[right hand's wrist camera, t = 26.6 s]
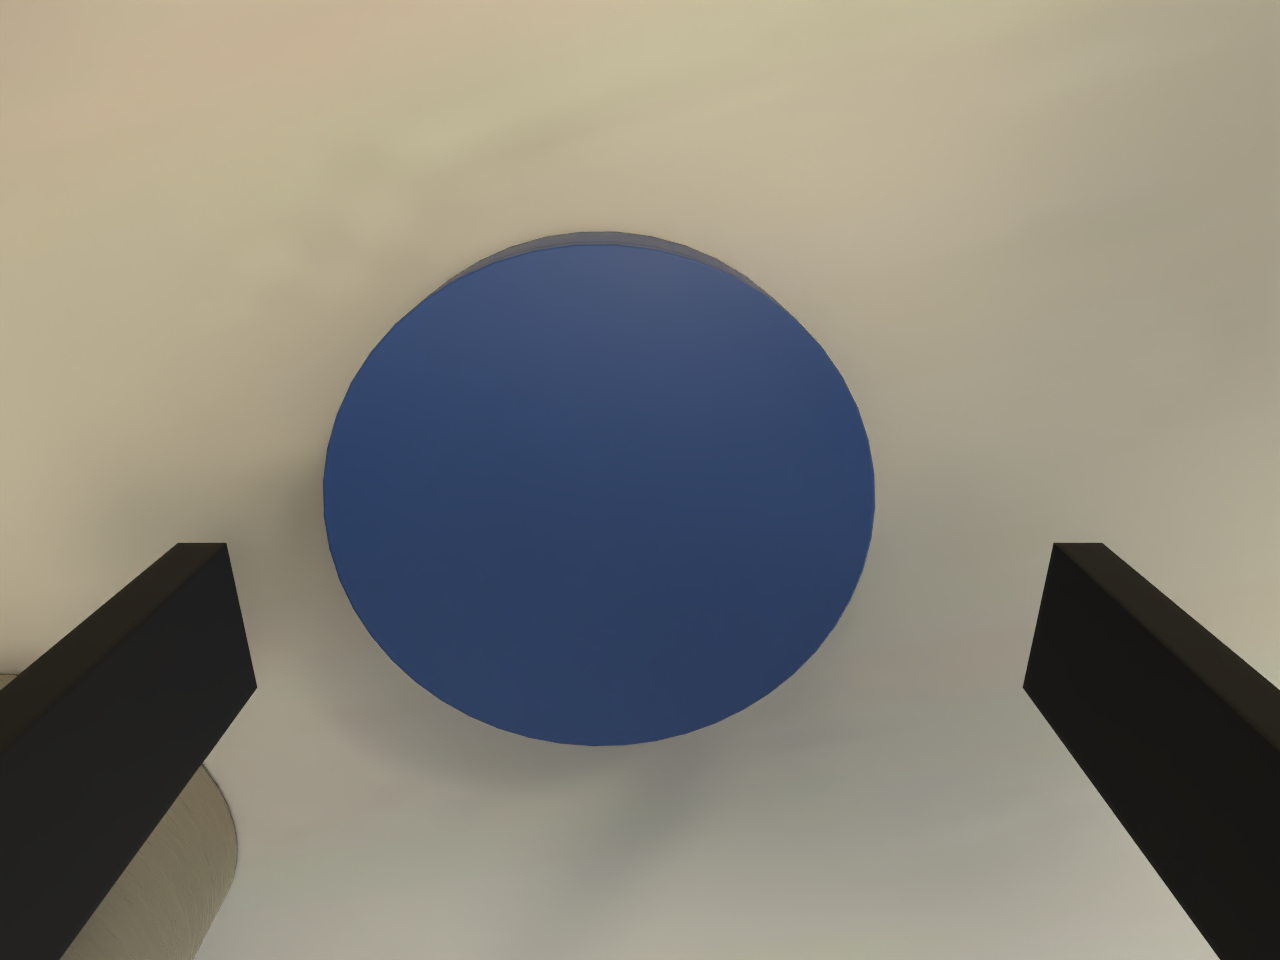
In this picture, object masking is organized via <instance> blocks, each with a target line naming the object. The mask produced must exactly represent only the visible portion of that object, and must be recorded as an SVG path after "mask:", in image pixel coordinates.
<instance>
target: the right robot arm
mask: <svg viewBox="0 0 1280 960" xmlns="http://www.w3.org/2000/svg"><path fill="white" fill-rule="evenodd" d="M256 689H257V684H256V680H255V675H254V670H253V665H252V661H251V656H250V651H249V647H248V642H247V637H246V633H245V628H244V623H243V619H242V614H241V609H240V605H239V600H238V595H237V591H236V586H235V581H234V577H233V572H232V567H231V563H230V558H229V553H228V549H227V544H226V543H177V544H176V545H175V546H174V547H172V548H171V549H170V550H169V551H168V552H166V553H165V554H164V555H163V556H162V557H160V558H159V559H158V560H157V561H156V562H154V563H153V564H152V565H151V566H150V567H148V568H147V569H146V570H145V571H144V572H142V573H141V574H140V575H139V576H138V577H136V578H135V579H134V580H133V581H131V582H130V583H129V584H128V585H127V586H125V587H124V588H123V589H122V590H121V591H119V592H118V593H117V594H116V595H115V596H113V597H112V598H111V599H110V600H109V601H107V602H106V603H105V604H104V605H103V606H101V607H100V608H99V609H98V610H96V611H95V612H94V613H93V614H92V615H90V616H89V617H88V618H87V619H86V620H84V621H83V622H82V623H81V624H80V625H78V626H77V627H76V628H75V629H74V630H72V631H71V632H70V633H69V634H68V635H66V636H65V637H64V638H63V639H61V640H60V641H59V642H58V643H57V644H55V645H54V646H53V647H52V648H51V649H49V650H48V651H47V652H46V653H45V654H43V655H42V656H41V657H40V658H39V659H37V660H36V661H35V662H34V663H33V664H31V665H30V666H29V667H28V668H26V669H25V670H24V671H23V672H22V673H20V674H19V675H18V676H17V677H16V678H14V679H13V680H12V681H11V682H10V683H8V684H7V685H6V686H5V687H4V688H2V689H1V690H0V960H60V959H61V957H62V956H63V954H64V953H65V952H66V950H67V949H68V948H69V946H70V945H71V943H72V942H73V941H74V939H75V938H76V937H77V935H78V934H79V932H80V931H81V930H82V928H83V927H84V926H85V924H86V923H87V921H88V920H89V919H90V917H91V916H92V915H93V913H94V912H95V910H96V909H97V908H98V906H99V905H100V904H101V902H102V901H103V899H104V898H105V897H106V895H107V894H108V892H109V891H110V890H111V888H112V887H113V886H114V884H115V883H116V881H117V880H118V879H119V877H120V876H121V875H122V873H123V872H124V870H125V869H126V868H127V866H128V865H129V864H130V862H131V861H132V859H133V858H134V857H135V855H136V854H137V853H138V851H139V850H140V848H141V847H142V846H143V844H144V843H145V842H146V840H147V839H148V837H149V836H150V835H151V833H152V832H153V830H154V829H155V828H156V826H157V825H158V824H159V822H160V821H161V819H162V818H163V817H164V815H165V814H166V813H167V811H168V810H169V808H170V807H171V806H172V804H173V803H174V802H175V800H176V799H177V797H178V796H179V795H180V793H181V792H182V791H183V789H184V788H185V786H186V785H187V784H188V782H189V781H190V780H191V778H192V777H193V775H194V774H195V773H196V771H197V770H198V768H199V767H200V766H201V764H202V763H203V762H204V760H205V759H206V757H207V756H208V755H209V753H210V752H211V751H212V749H213V748H214V746H215V745H216V744H217V742H218V741H219V740H220V738H221V737H222V735H223V734H224V733H225V731H226V730H227V729H228V727H229V726H230V724H231V723H232V722H233V720H234V719H235V717H236V716H237V715H238V713H239V712H240V711H241V709H242V708H243V706H244V705H245V704H246V702H247V701H248V700H249V698H250V697H251V695H252V694H253V693H254V691H255V690H256ZM1023 689H1024V690H1025V691H1026V693H1027V694H1028V695H1029V697H1030V698H1031V700H1032V701H1033V702H1034V704H1035V705H1036V706H1037V708H1038V709H1039V711H1040V712H1041V713H1042V715H1043V716H1044V717H1045V719H1046V720H1047V722H1048V723H1049V724H1050V726H1051V727H1052V729H1053V730H1054V731H1055V733H1056V734H1057V735H1058V737H1059V738H1060V740H1061V741H1062V742H1063V744H1064V745H1065V746H1066V748H1067V749H1068V751H1069V752H1070V753H1071V755H1072V756H1073V757H1074V759H1075V760H1076V762H1077V763H1078V764H1079V766H1080V767H1081V768H1082V770H1083V771H1084V773H1085V774H1086V775H1087V777H1088V778H1089V779H1090V781H1091V782H1092V784H1093V785H1094V786H1095V788H1096V789H1097V791H1098V792H1099V793H1100V795H1101V796H1102V797H1103V799H1104V800H1105V802H1106V803H1107V804H1108V806H1109V807H1110V808H1111V810H1112V811H1113V813H1114V814H1115V815H1116V817H1117V818H1118V819H1119V821H1120V822H1121V824H1122V825H1123V826H1124V828H1125V829H1126V830H1127V832H1128V833H1129V835H1130V836H1131V837H1132V839H1133V840H1134V842H1135V843H1136V844H1137V846H1138V847H1139V848H1140V850H1141V851H1142V853H1143V854H1144V855H1145V857H1146V858H1147V859H1148V861H1149V862H1150V864H1151V865H1152V866H1153V868H1154V869H1155V870H1156V872H1157V873H1158V875H1159V876H1160V877H1161V879H1162V880H1163V881H1164V883H1165V884H1166V886H1167V887H1168V888H1169V890H1170V891H1171V892H1172V894H1173V895H1174V897H1175V898H1176V899H1177V901H1178V902H1179V904H1180V905H1181V906H1182V908H1183V909H1184V910H1185V912H1186V913H1187V915H1188V916H1189V917H1190V919H1191V920H1192V921H1193V923H1194V924H1195V926H1196V927H1197V928H1198V930H1199V931H1200V932H1201V934H1202V935H1203V937H1204V938H1205V939H1206V941H1207V942H1208V943H1209V945H1210V946H1211V948H1212V949H1213V950H1214V952H1215V953H1216V954H1217V956H1218V957H1219V959H1220V960H1280V690H1279V689H1278V688H1276V687H1275V686H1274V685H1273V684H1272V683H1270V682H1269V681H1268V680H1267V679H1266V678H1264V677H1263V676H1262V675H1261V674H1260V673H1258V672H1257V671H1256V670H1255V669H1254V668H1252V667H1251V666H1250V665H1249V664H1247V663H1246V662H1245V661H1244V660H1243V659H1241V658H1240V657H1239V656H1238V655H1237V654H1235V653H1234V652H1233V651H1232V650H1231V649H1229V648H1228V647H1227V646H1226V645H1225V644H1223V643H1222V642H1221V641H1220V640H1219V639H1217V638H1216V637H1215V636H1214V635H1212V634H1211V633H1210V632H1209V631H1208V630H1206V629H1205V628H1204V627H1203V626H1202V625H1200V624H1199V623H1198V622H1197V621H1196V620H1194V619H1193V618H1192V617H1191V616H1190V615H1188V614H1187V613H1186V612H1185V611H1184V610H1182V609H1181V608H1180V607H1179V606H1178V605H1176V604H1175V603H1174V602H1173V601H1171V600H1170V599H1169V598H1168V597H1167V596H1165V595H1164V594H1163V593H1162V592H1161V591H1159V590H1158V589H1157V588H1156V587H1155V586H1153V585H1152V584H1151V583H1150V582H1149V581H1147V580H1146V579H1145V578H1144V577H1143V576H1141V575H1140V574H1139V573H1138V572H1136V571H1135V570H1134V569H1133V568H1132V567H1130V566H1129V565H1128V564H1127V563H1126V562H1124V561H1123V560H1122V559H1121V558H1120V557H1118V556H1117V555H1116V554H1115V553H1114V552H1112V551H1111V550H1110V549H1109V548H1108V547H1106V546H1105V545H1104V544H1103V543H1054V544H1053V549H1052V553H1051V558H1050V563H1049V567H1048V572H1047V577H1046V581H1045V586H1044V591H1043V595H1042V600H1041V605H1040V609H1039V614H1038V619H1037V623H1036V628H1035V633H1034V637H1033V642H1032V647H1031V651H1030V656H1029V661H1028V666H1027V670H1026V675H1025V680H1024V684H1023Z"/></svg>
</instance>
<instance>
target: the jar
mask: <svg viewBox="0 0 1280 960" xmlns="http://www.w3.org/2000/svg"><path fill="white" fill-rule="evenodd" d="M17 676H18V675H10V674H0V690H1V689H2V688H4V687H5V686H6V685H7V684H8V683H10V682H11V681H12V680H13V679H14V678H16V677H17ZM236 862H237V840H236V835H235V829H234V824H233V821H232V818H231V815H230V812H229V809H228V806H227V804H226V802H225V800H224V798H223V796H222V795H221V793H220V791H219V789H218V787H217V785H216V784H215V783H214V781H213V780H212V778H211V777H210V776H209V774H208V773H207V772H206V770H205V769H204V767H203V766H202V765H201V766H200V767H199V768H198V770H197V771H196V773H195V774H194V775H193V777H192V778H191V780H190V781H189V782H188V784H187V785H186V786H185V788H184V789H183V791H182V792H181V793H180V795H179V796H178V797H177V799H176V800H175V802H174V803H173V804H172V806H171V807H170V808H169V810H168V811H167V813H166V814H165V815H164V817H163V818H162V819H161V821H160V822H159V824H158V825H157V826H156V828H155V829H154V830H153V832H152V833H151V835H150V836H149V837H148V839H147V840H146V842H145V843H144V844H143V846H142V847H141V848H140V850H139V851H138V853H137V854H136V855H135V857H134V858H133V859H132V861H131V862H130V864H129V865H128V866H127V868H126V869H125V870H124V872H123V873H122V875H121V876H120V877H119V879H118V880H117V881H116V883H115V884H114V886H113V887H112V888H111V890H110V891H109V892H108V894H107V895H106V897H105V898H104V899H103V901H102V902H101V904H100V905H99V906H98V908H97V909H96V910H95V912H94V913H93V915H92V916H91V917H90V919H89V920H88V921H87V923H86V924H85V926H84V927H83V928H82V930H81V931H80V932H79V934H78V935H77V937H76V938H75V939H74V941H73V942H72V943H71V945H70V946H69V948H68V949H67V950H66V952H65V953H64V954H63V956H62V957H61V959H60V960H193V958H194V956H195V954H196V952H197V951H198V949H199V947H200V945H201V943H202V941H203V939H204V937H205V935H206V933H207V931H208V929H209V927H210V926H211V924H212V922H213V920H214V918H215V916H216V914H217V912H218V910H219V908H220V906H221V904H222V903H223V901H224V899H225V897H226V895H227V893H228V890H229V888H230V885H231V883H232V880H233V878H234V872H235V867H236Z"/></svg>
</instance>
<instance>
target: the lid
mask: <svg viewBox="0 0 1280 960" xmlns="http://www.w3.org/2000/svg"><path fill="white" fill-rule="evenodd" d="M323 497H324V519H325V525H326V530H327V536H328V542H329V548H330V551H331V555H332V558H333V561H334V564H335V567H336V570H337V573H338V576H339V579H340V582H341V584H342V586H343V588H344V590H345V592H346V594H347V596H348V598H349V600H350V602H351V605H352V607H353V609H354V610H355V612H356V613H357V615H358V616H359V618H360V619H361V621H362V623H363V624H364V626H365V627H366V629H367V630H368V632H369V633H370V635H371V636H372V637H373V639H374V640H375V641H376V642H377V643H378V644H379V646H380V647H381V648H382V649H383V650H384V651H385V653H386V654H387V655H388V656H389V657H390V658H391V660H392V661H393V662H394V663H396V664H397V665H398V666H399V667H400V668H401V669H402V670H403V671H404V672H405V673H406V674H408V675H409V676H410V677H411V678H412V679H413V680H414V681H415V682H416V683H418V684H419V685H421V686H422V687H423V688H425V689H426V690H428V691H429V692H430V693H432V694H433V695H435V696H436V697H437V698H439V699H440V700H441V701H443V702H445V703H447V704H449V705H450V706H452V707H454V708H456V709H458V710H459V711H461V712H463V713H465V714H466V715H468V716H470V717H473V718H475V719H477V720H480V721H482V722H484V723H487V724H489V725H492V726H494V727H496V728H499V729H502V730H505V731H509V732H512V733H515V734H519V735H522V736H525V737H529V738H534V739H539V740H545V741H550V742H555V743H561V744H573V745H586V746H612V745H629V744H637V743H645V742H652V741H658V740H662V739H666V738H670V737H674V736H679V735H683V734H687V733H689V732H692V731H695V730H698V729H701V728H703V727H706V726H709V725H712V724H715V723H717V722H719V721H721V720H723V719H725V718H727V717H729V716H731V715H734V714H736V713H738V712H740V711H742V710H744V709H745V708H747V707H749V706H750V705H752V704H753V703H755V702H756V701H758V700H760V699H761V698H763V697H764V696H766V695H768V694H769V693H771V692H772V691H773V690H774V689H776V688H777V687H778V686H779V685H781V684H782V683H783V682H784V681H786V680H787V679H788V678H789V677H791V676H792V675H793V674H794V673H795V672H796V671H797V670H798V669H799V668H800V667H801V666H802V665H803V664H804V663H805V662H806V661H807V660H808V659H809V658H810V657H811V656H812V655H813V654H814V653H815V652H816V651H817V649H818V648H819V647H820V645H821V644H822V643H823V642H824V640H825V639H826V638H827V636H828V635H829V634H830V632H831V631H832V630H833V628H834V627H835V626H836V624H837V622H838V621H839V619H840V617H841V615H842V614H843V612H844V610H845V608H846V607H847V605H848V603H849V602H850V600H851V598H852V595H853V593H854V590H855V588H856V586H857V583H858V581H859V578H860V576H861V574H862V571H863V568H864V564H865V560H866V557H867V553H868V549H869V545H870V541H871V536H872V528H873V519H874V511H875V485H874V469H873V464H872V458H871V452H870V446H869V440H868V437H867V434H866V431H865V428H864V425H863V422H862V419H861V416H860V413H859V410H858V407H857V405H856V403H855V401H854V399H853V397H852V395H851V393H850V391H849V389H848V387H847V385H846V383H845V381H844V379H843V377H842V375H841V374H840V373H839V371H838V370H837V368H836V367H835V365H834V364H833V362H832V361H831V360H830V358H829V357H828V355H827V354H826V352H825V351H824V349H823V348H822V347H821V346H820V344H819V343H818V342H817V341H816V340H815V339H814V338H813V337H812V336H811V335H810V334H809V333H808V332H807V331H806V329H805V328H804V327H803V326H802V325H801V324H800V323H799V322H798V321H797V320H796V319H795V318H794V317H793V316H792V315H791V314H790V313H789V312H788V311H786V310H785V309H784V308H783V307H782V306H781V305H780V304H779V303H778V302H777V301H776V300H775V299H773V298H772V297H771V296H770V295H769V294H767V293H766V292H765V291H764V290H762V289H761V288H760V287H759V286H757V285H756V284H755V283H754V282H752V281H751V280H750V279H749V278H747V277H746V276H744V275H743V274H741V273H739V272H738V271H736V270H734V269H733V268H731V267H729V266H728V265H726V264H724V263H723V262H721V261H719V260H718V259H715V258H713V257H711V256H708V255H706V254H704V253H701V252H699V251H697V250H694V249H692V248H690V247H687V246H685V245H681V244H677V243H674V242H670V241H666V240H662V239H659V238H655V237H651V236H644V235H636V234H629V233H621V232H577V233H570V234H563V235H556V236H549V237H544V238H540V239H537V240H533V241H530V242H526V243H523V244H519V245H516V246H512V247H510V248H507V249H505V250H503V251H501V252H498V253H496V254H494V255H492V256H489V257H487V258H485V259H483V260H481V261H478V262H477V263H475V264H474V265H472V266H470V267H469V268H467V269H466V270H464V271H462V272H461V273H459V274H458V275H456V276H455V277H453V278H451V279H450V280H448V281H447V282H446V283H445V284H443V285H442V286H441V287H439V288H438V289H437V290H436V291H434V292H433V293H432V294H430V295H429V296H428V297H427V298H425V299H424V300H423V301H422V302H421V303H419V304H418V305H417V306H416V307H415V308H414V309H412V310H411V311H410V312H409V313H408V314H407V315H405V316H404V317H403V318H402V319H401V320H399V321H398V322H397V323H396V324H395V325H394V326H393V327H392V328H391V330H390V331H389V332H388V333H387V334H386V335H385V336H384V338H383V339H382V340H381V341H380V342H379V343H378V344H377V346H376V347H375V348H374V349H373V350H372V351H371V353H370V354H369V356H368V357H367V359H366V360H365V362H364V364H363V365H362V367H361V368H360V370H359V371H358V373H357V374H356V376H355V377H354V379H353V381H352V382H351V384H350V386H349V389H348V391H347V393H346V395H345V398H344V400H343V402H342V404H341V406H340V409H339V411H338V413H337V416H336V419H335V423H334V426H333V430H332V433H331V437H330V441H329V444H328V448H327V455H326V463H325V471H324V479H323Z"/></svg>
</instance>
